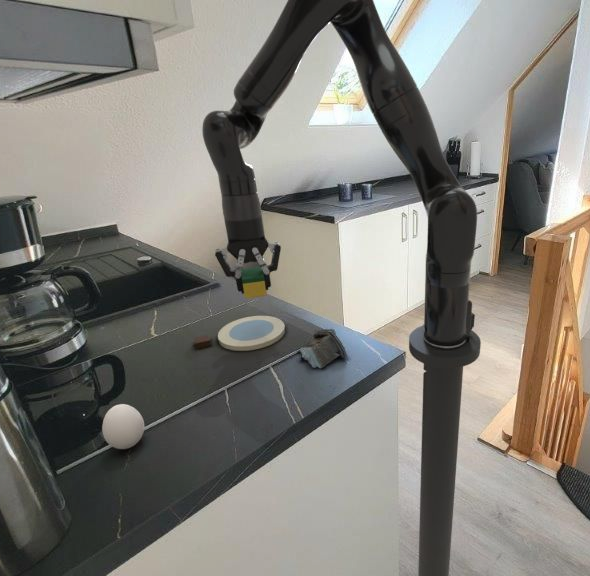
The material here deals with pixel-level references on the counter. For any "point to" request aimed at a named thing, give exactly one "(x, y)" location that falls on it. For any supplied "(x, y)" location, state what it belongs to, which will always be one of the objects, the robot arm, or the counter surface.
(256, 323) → the plate
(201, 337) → the crumb
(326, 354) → the grey jagged block
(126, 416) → the egg
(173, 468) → the counter surface
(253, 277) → the sponge
